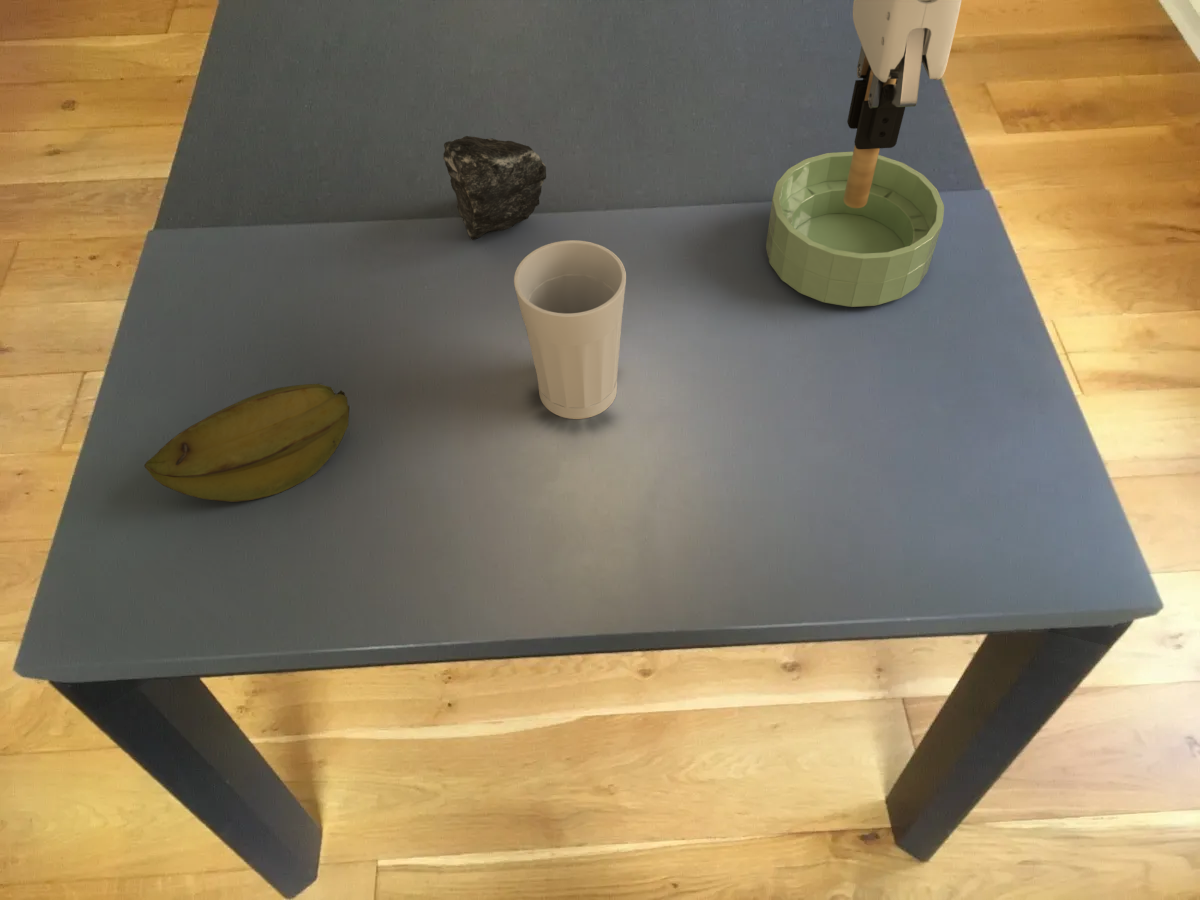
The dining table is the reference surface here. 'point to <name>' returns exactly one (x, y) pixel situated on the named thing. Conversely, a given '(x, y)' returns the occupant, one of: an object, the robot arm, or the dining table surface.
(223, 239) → the dining table surface
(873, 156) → the stick
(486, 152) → the rock
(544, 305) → the cup
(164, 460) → the fruit
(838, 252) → the bowl
